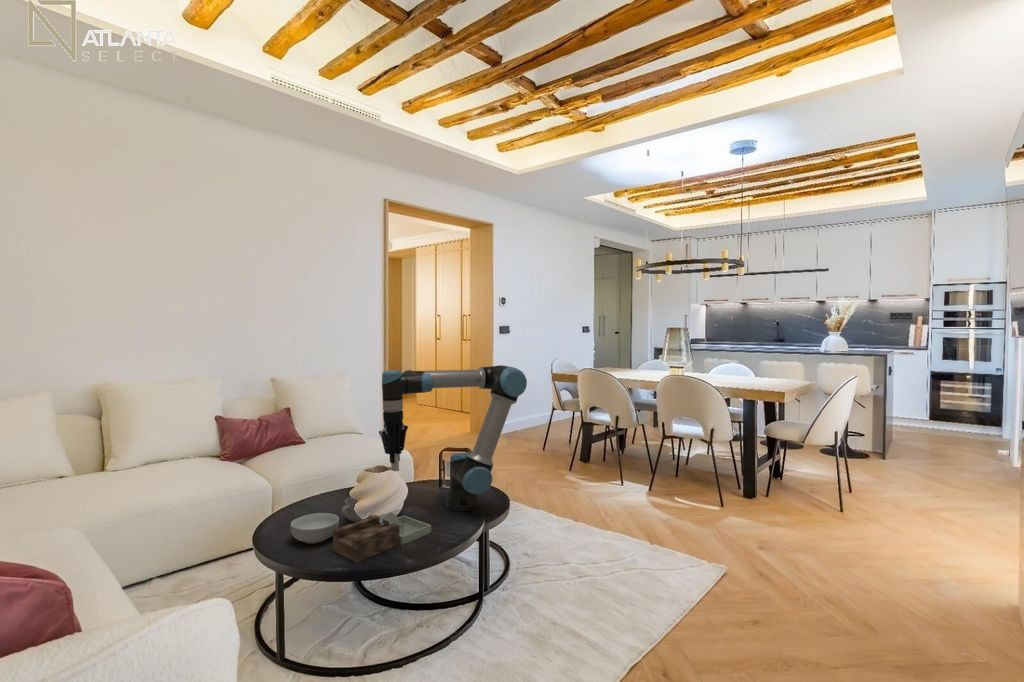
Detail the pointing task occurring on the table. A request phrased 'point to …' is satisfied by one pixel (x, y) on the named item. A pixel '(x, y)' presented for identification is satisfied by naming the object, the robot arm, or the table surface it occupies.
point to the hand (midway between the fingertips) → (395, 470)
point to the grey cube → (401, 529)
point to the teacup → (350, 510)
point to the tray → (412, 529)
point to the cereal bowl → (314, 527)
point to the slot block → (365, 539)
